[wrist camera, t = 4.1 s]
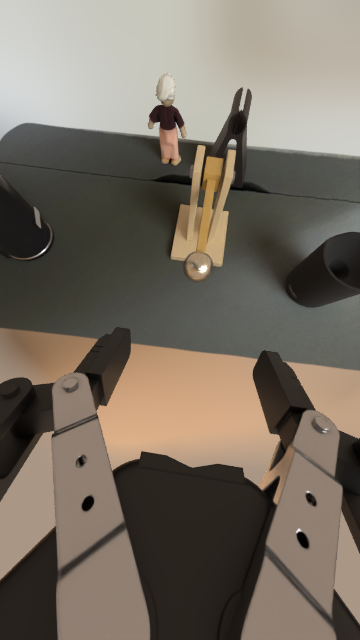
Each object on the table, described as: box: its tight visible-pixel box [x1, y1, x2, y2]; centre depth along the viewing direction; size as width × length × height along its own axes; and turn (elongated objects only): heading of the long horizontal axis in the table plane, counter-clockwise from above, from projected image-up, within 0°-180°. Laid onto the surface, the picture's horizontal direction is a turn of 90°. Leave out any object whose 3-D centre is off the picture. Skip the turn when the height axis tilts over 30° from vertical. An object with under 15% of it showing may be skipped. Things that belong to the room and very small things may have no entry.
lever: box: [183, 156, 223, 282], centre depth 24 cm, size 17×4×4 cm, turn 171°
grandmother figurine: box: [148, 74, 186, 165], centre depth 36 cm, size 8×4×13 cm, turn 87°
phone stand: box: [202, 88, 252, 188], centre depth 36 cm, size 9×6×12 cm, turn 77°
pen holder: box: [287, 232, 360, 308], centre depth 31 cm, size 9×9×10 cm
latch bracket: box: [171, 145, 236, 267], centre depth 31 cm, size 12×10×15 cm
